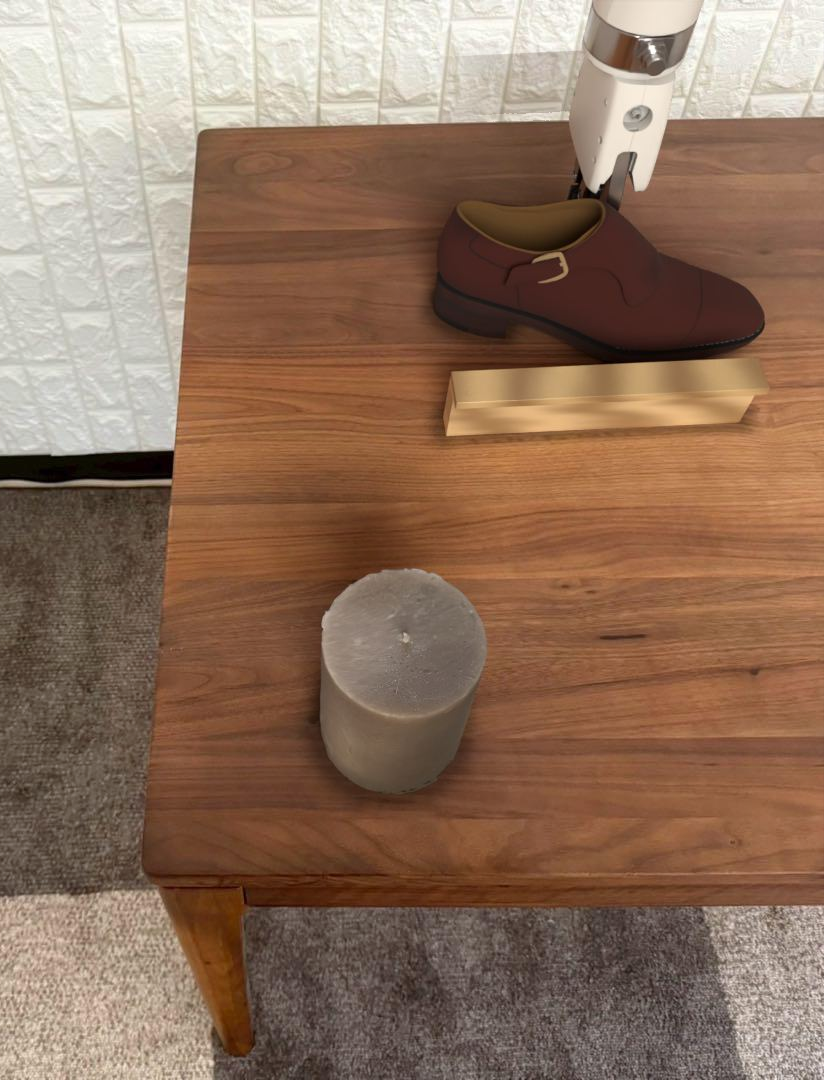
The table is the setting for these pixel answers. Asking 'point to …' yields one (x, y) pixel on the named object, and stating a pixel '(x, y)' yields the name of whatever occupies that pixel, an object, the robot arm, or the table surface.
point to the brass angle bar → (602, 396)
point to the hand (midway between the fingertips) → (580, 226)
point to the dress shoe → (585, 284)
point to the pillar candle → (398, 678)
